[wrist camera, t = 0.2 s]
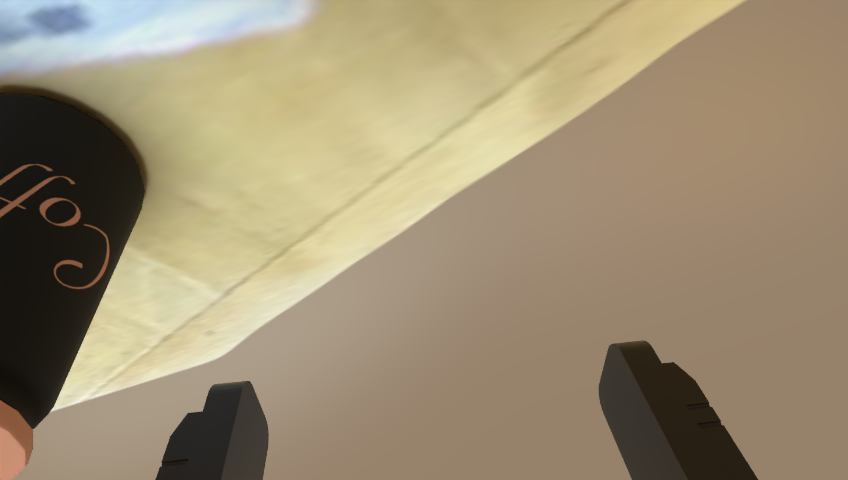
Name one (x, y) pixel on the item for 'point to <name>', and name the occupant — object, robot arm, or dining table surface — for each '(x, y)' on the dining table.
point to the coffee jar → (53, 251)
